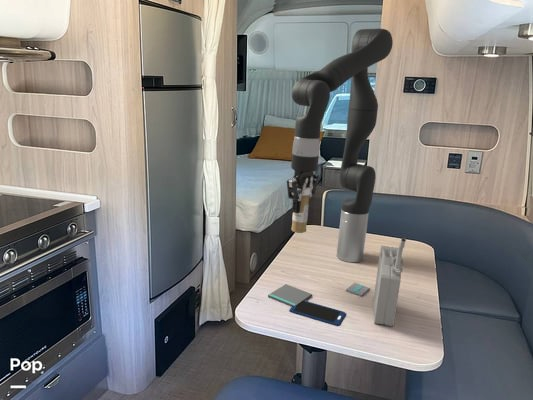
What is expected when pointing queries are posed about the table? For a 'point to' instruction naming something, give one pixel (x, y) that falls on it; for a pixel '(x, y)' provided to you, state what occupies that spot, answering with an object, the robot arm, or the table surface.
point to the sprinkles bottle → (301, 213)
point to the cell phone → (319, 312)
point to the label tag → (357, 289)
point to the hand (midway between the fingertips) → (300, 210)
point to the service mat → (289, 295)
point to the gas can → (388, 284)
